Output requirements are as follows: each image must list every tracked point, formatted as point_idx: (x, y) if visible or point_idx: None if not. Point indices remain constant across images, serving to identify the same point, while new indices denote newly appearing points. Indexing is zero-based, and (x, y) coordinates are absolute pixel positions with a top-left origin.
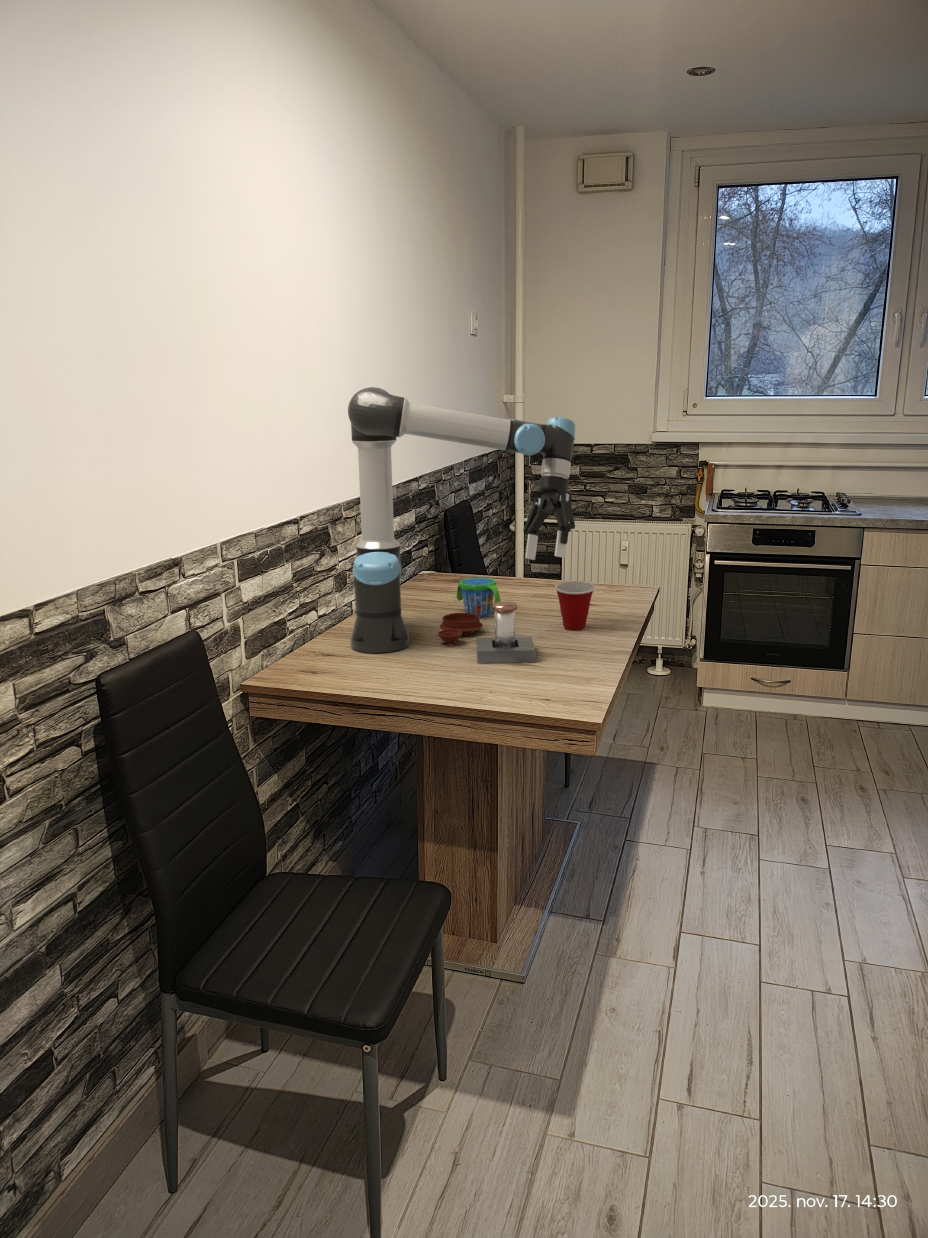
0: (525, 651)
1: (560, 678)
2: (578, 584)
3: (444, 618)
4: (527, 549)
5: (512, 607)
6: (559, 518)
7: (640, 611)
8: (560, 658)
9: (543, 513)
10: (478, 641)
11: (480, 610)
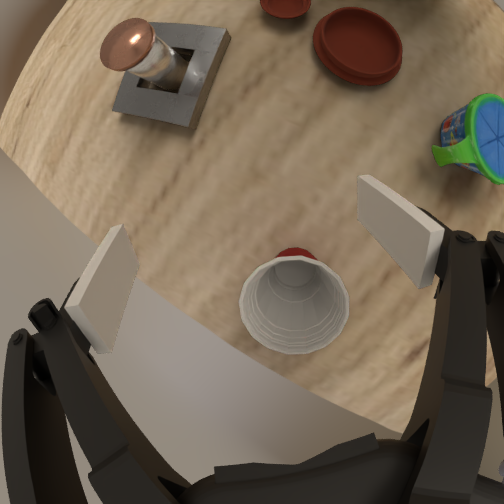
0: (117, 94)
1: (62, 132)
2: (328, 333)
3: (377, 18)
4: (379, 189)
5: (101, 57)
6: (55, 380)
7: (332, 399)
8: (126, 158)
9: (419, 422)
10: (199, 28)
11: (445, 128)
